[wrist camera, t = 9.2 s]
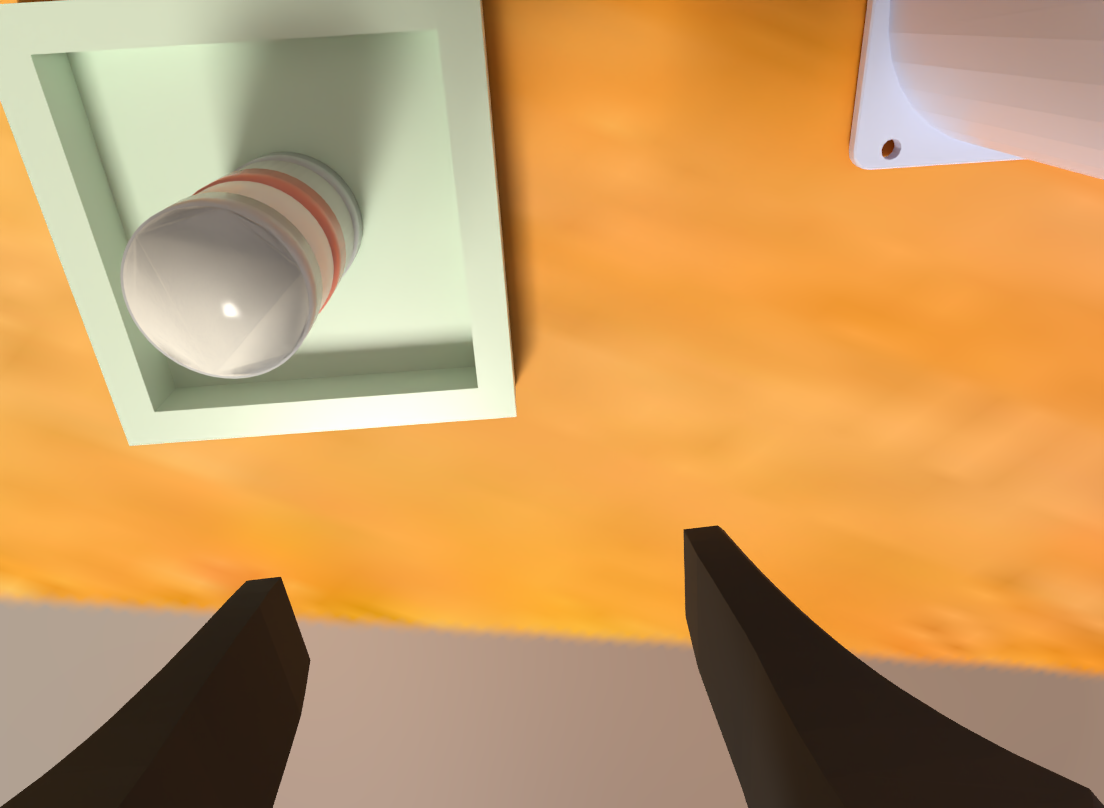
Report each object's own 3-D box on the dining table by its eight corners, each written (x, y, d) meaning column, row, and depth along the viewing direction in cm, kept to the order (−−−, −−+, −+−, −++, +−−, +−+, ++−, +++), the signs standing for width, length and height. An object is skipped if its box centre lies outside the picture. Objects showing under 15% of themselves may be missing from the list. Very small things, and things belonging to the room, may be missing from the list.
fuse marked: (353, 150, 19) (295, 200, 14) (370, 284, 21) (324, 375, 15) (210, 152, 19) (96, 204, 14) (239, 287, 21) (147, 381, 15)
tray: (480, -21, 18) (477, -25, 16) (515, 387, 23) (516, 416, 21) (16, 7, 18) (-35, 6, 16) (157, 414, 23) (129, 445, 21)
